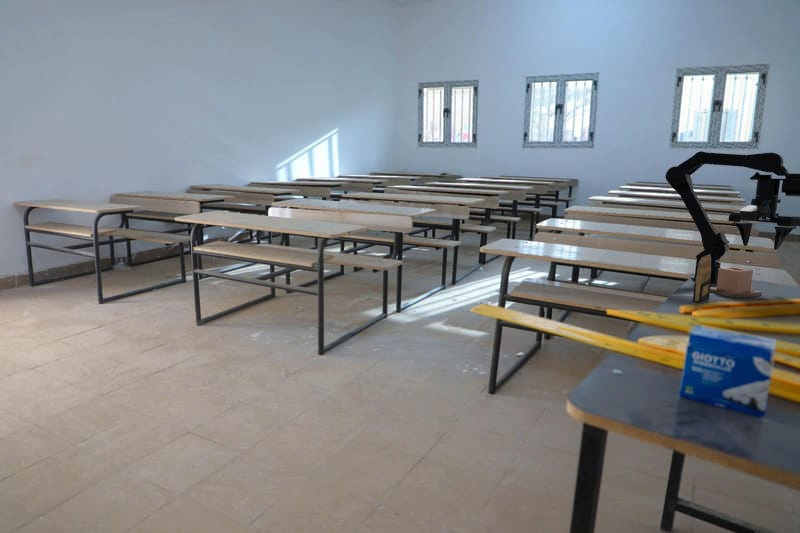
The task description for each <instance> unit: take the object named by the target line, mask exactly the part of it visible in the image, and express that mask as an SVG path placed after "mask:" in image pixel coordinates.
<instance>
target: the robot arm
mask: <svg viewBox="0 0 800 533" xmlns="http://www.w3.org/2000/svg"><path fill="white" fill-rule="evenodd" d="M704 165H713V166H725V167H728V166H729V167H740V168H746V169H751V170H756V172H755V173H754V174H753V175H752V176H750V177H749V180H751V181H757V182H756V187H755V198H751V201H750V204H749V205H746V206H744V207H743V208H740V210H739V212H738V211H737V212H733V211H732V212H730V214H729V215H728V218H727V221H728V222H731V224H732V225H734V226H735V227H736V228H737V229H738V231H739V233H740V237H741V241H742V244H743V245H742V246H744V247H748V244H749V240H750V237H751V233H752V228H753V223H754V222H760V223H770V224H776V225H777V226H774V227H773V228H774V230H775V235H774V236H775V237H774V243H773V244H774V245H773V247H774V248H773V250H775V251H778V250H779V248H780V247H781V245H782V244H783V242H784V241H785V239H786V238H787V236H788V235H789V234H790V233H791V232H792V231H793V230H795V229H796V230H797V227H800V216H799V215H798V216H797V215H780V213H779V212H777V210H778V209H777V208H778V204H780V203H781V199H779V194H780V184H781V181H782V184H781V193H782V194H783V193H784V194H785V197H796V198H797V197H800V173H790V172H789V170H788V169H786V167H785V166H784V158H783V156H781V154H778V153H777V152H773V151H772V152H761V153H751V154H739V153H738V154H737V153H722V152H721V153H720V152H707V151H702V150H701V151H698V152H695V153H694V154H693V155H692V156H691V157H690V158H688V159H686V160H684V161H683V162H681V163H680V164H678V165H677V166H676V165H675V166H672V167H670V168H668V169H667V171H666V173H665V175H664V176H665V181H666V182H667V183H668V184H669V185H670V187H671V188H672V189H673V190H675V192H676V193H677V194H678V195H679V196H680V198H681V200H682V202H683V203H684V206H685V208H686V209H687V211H688V213H689V215H690V217H691V219H692V220H693V222H694V224H695V226H696V228H697V230H698V232H699V234H700V238H701V244H702V246H703V250H702V251H701V252H699V253H698V254H696V256H695V258H696V262H695V271H694V277H691V278H690V279H691V280H693V279H694V280H693V281H696V276H697V271H698V266H699V262H700V259H701V257H702V258H703V257H704V256H706V255H709V254H710V255H711V277H710V279H711V283H717V279H718V270H719V268H721V262H719V261H720V259H721V258H722V257H724V256H726V255H727V254H728V252H729V250H730V240H728V238H727V237H726V233H725V232H724V231H723V230H722V231H720V232H718V230H716V228H715V227H714V225H713V224H712V222H711V219H710V218H709V216H708V214H707V212H706V211H705V208H704V206H703V205H702V203H701V201H700V199H699V197H698V195H697V194H696V192H695V190H694V185H693V180H692V177H691V176H692V175H693V174H694V173H695V172H697V171H698V170H699V169H700V168H701V167H703V166H704ZM758 171H759V172H758ZM760 172H764V173H768V174H761V173H760ZM769 173H771V174H769ZM772 173H773V174H775V175H776V176H777V177H785V178H773V175H772Z"/></svg>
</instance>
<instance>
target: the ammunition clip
mask: <svg viewBox="0 0 800 533" xmlns="http://www.w3.org/2000/svg"><path fill="white" fill-rule="evenodd" d="M710 277H711V255H710V254H709V255H706V256H704V257H703V258H702V257H701V259H700V262H699V266H698V271H697V276H696V280H695V282H694V286H693V287H694V288H693V296H692V302H693V303H700V304H701V303H702V302H703V301H705V300H706V299H707V298H710V293H711V292H710V287H711V284H712V282H711V279H710Z"/></svg>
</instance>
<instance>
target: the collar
mask: <svg viewBox="0 0 800 533" xmlns="http://www.w3.org/2000/svg"><path fill="white" fill-rule="evenodd" d="M753 272H754V270H752V269H746V268H740V267H736V266H735V267H734V266H729V267H720V268H719V270H718V279H717V282H716V287H717V289H721V290H726V291H731V292H736V293H738V292H746V291H750V290H752V280H753Z"/></svg>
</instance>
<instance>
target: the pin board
mask: <svg viewBox="0 0 800 533" xmlns="http://www.w3.org/2000/svg"><path fill="white" fill-rule="evenodd" d="M710 293H713V294H717V295H721V296H725V297H731V298H736V299H742V298H743V299H744V298H752V297H759V296H762V295H763V294H762V293H763V292H762V291H759V290H753V289H751V290H750V291H746V292H738V293H736V292H731V291H726V290H721V289H717V286H710Z"/></svg>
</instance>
